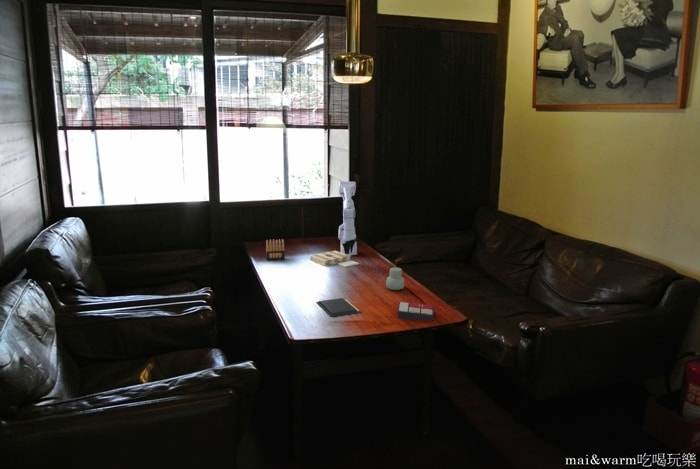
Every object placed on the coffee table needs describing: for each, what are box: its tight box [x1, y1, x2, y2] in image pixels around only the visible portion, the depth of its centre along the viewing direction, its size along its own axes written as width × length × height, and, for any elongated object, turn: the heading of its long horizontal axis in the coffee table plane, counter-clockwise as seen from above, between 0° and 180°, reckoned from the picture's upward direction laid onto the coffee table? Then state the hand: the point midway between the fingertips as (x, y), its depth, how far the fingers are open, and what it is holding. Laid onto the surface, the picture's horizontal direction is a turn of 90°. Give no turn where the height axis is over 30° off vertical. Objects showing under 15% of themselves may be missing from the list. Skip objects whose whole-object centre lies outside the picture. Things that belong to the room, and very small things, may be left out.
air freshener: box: [385, 267, 405, 291], centre depth 262 cm, size 11×8×10 cm
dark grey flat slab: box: [315, 297, 363, 318], centre depth 237 cm, size 20×2×15 cm
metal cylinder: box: [345, 246, 352, 259], centre depth 301 cm, size 3×3×7 cm
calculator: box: [396, 301, 434, 321], centre depth 229 cm, size 11×4×15 cm
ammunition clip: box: [265, 238, 286, 261], centre depth 309 cm, size 11×2×12 cm, turn 102°
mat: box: [337, 259, 360, 268], centre depth 302 cm, size 10×7×1 cm
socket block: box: [309, 250, 351, 267], centre depth 309 cm, size 18×14×3 cm
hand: (348, 253), depth 301 cm, fingers closed on metal cylinder, 3 cm apart
